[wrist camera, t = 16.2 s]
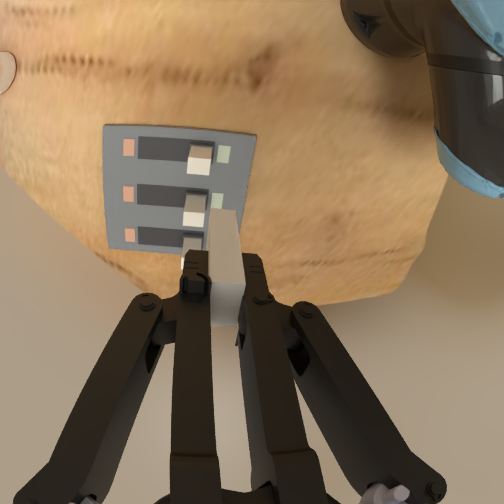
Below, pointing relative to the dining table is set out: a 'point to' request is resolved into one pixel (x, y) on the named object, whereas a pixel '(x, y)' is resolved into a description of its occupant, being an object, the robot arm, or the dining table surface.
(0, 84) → the water bottle
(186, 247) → the breaker
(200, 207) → the breaker
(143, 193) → the panel
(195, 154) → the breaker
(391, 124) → the dining table surface
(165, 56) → the dining table surface
